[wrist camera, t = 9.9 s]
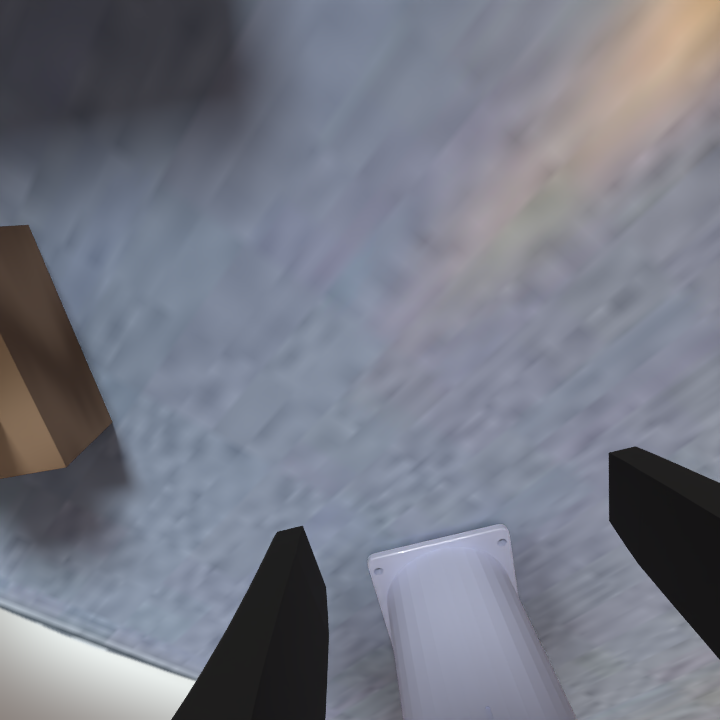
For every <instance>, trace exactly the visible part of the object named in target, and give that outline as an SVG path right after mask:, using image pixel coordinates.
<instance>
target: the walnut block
mask: <svg viewBox="0 0 720 720" xmlns="http://www.w3.org/2000/svg"><path fill="white" fill-rule="evenodd" d="M111 423H112V420H111V418H110V415H109V413H108V411H107V408H106V406H105V404H104V401H103V399H102V396H101V394H100V392H99V389H98V387H97V385H96V382H95V380H94V378H93V375H92V373H91V371H90V368H89V366H88V364H87V361H86V359H85V357H84V354H83V352H82V350H81V347H80V345H79V343H78V340H77V338H76V336H75V333H74V331H73V329H72V326H71V324H70V321H69V319H68V317H67V314H66V312H65V310H64V307H63V305H62V303H61V300H60V298H59V296H58V293H57V291H56V289H55V286H54V284H53V282H52V279H51V277H50V275H49V272H48V270H47V268H46V265H45V263H44V261H43V258H42V256H41V253H40V251H39V249H38V246H37V244H36V242H35V239H34V237H33V235H32V232H31V230H30V228H29V225H19V226H2V227H0V479H2V478H8V477H13V476H19V475H25V474H31V473H36V472H42V471H48V470H53V469H59V468H65V467H67V466H68V465H69V464H70V463H71V462H72V461H73V460H74V459H75V458H76V457H77V456H78V455H79V454H80V453H81V452H83V451H84V450H85V449H86V448H87V447H88V446H89V445H90V444H91V443H92V442H93V441H94V440H95V439H96V438H97V437H98V436H99V435H100V434H101V433H102V432H103V431H104V430H105V429H106V428H107V427H108V426H109V425H110V424H111Z"/></svg>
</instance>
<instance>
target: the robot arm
mask: <svg viewBox="0 0 720 720" xmlns="http://www.w3.org/2000/svg"><path fill="white" fill-rule="evenodd" d="M609 521H610V523H611V524H612V526H613V527H614V529H615V530H616V532H617V533H618V535H619V536H620V538H621V539H622V541H623V542H624V544H625V545H626V547H627V548H628V550H629V551H630V553H631V554H632V555H633V557H634V558H635V560H636V561H637V563H638V564H639V565H640V566H641V568H642V569H643V570H644V571H645V572H646V574H647V575H648V576H649V577H650V578H651V580H652V581H653V582H654V583H655V584H656V586H657V587H658V588H659V589H660V590H661V591H662V593H663V594H664V595H665V596H666V597H667V599H668V600H669V601H670V602H671V603H672V604H673V606H674V607H675V608H676V609H677V610H678V611H679V613H680V614H681V615H682V616H683V617H684V618H685V620H686V621H687V622H688V623H689V624H690V625H691V627H692V628H693V629H694V630H695V631H696V632H697V634H698V635H699V636H700V637H701V638H702V639H703V641H704V642H705V643H706V644H707V645H708V646H709V648H710V649H711V650H712V651H713V652H714V653H715V655H716V656H717V657H718V658H719V659H720V483H719V482H716V481H714V480H712V479H710V478H707V477H705V476H703V475H700V474H698V473H696V472H694V471H691V470H689V469H687V468H685V467H682V466H680V465H678V464H676V463H673V462H671V461H669V460H667V459H664V458H662V457H660V456H657V455H655V454H653V453H650V452H648V451H645V450H643V449H640V448H638V447H631V448H627V449H623V450H618V451H614V452H610V453H609ZM500 539H502V540H501V541H499V540H500ZM367 563H368V569H369V572H370V575H371V578H372V582H373V585H374V588H375V591H376V595H377V598H378V601H379V604H380V607H381V611H382V614H383V617H384V620H385V624H386V627H387V630H388V633H389V637H390V640H391V643H392V646H393V649H394V656H395V663H396V671H397V678H398V685H399V692H400V700H401V707H402V714H403V720H577V718H576V716H575V714H574V712H573V710H572V708H571V706H570V703H569V701H568V699H567V697H566V695H565V693H564V691H563V689H562V687H561V685H560V683H559V680H558V678H557V676H556V674H555V672H554V670H553V668H552V666H551V664H550V662H549V660H548V657H547V655H546V653H545V651H544V649H543V647H542V645H541V643H540V641H539V639H538V637H537V634H536V632H535V630H534V628H533V626H532V624H531V622H530V620H529V618H528V616H527V614H526V611H525V609H524V607H523V605H522V603H521V601H520V599H519V597H518V590H517V583H516V576H515V569H514V562H513V554H512V547H511V540H510V533H509V531H508V529H507V527H506V526H505V525H503V524H497V525H492V526H488V527H484V528H480V529H475V530H471V531H467V532H463V533H458V534H454V535H450V536H446V537H441V538H437V539H433V540H429V541H424V542H420V543H416V544H412V545H408V546H403V547H399V548H395V549H391V550H386V551H382V552H378V553H374V554H371V555H370V556H369V557H368V559H367ZM377 568H381V569H377ZM328 645H329V628H328V610H327V595H326V586H325V583H324V581H323V578H322V575H321V573H320V570H319V567H318V565H317V562H316V560H315V557H314V554H313V552H312V549H311V546H310V544H309V541H308V538H307V536H306V533H305V530H304V528H303V526H300V527H295V528H291V529H287V530H283V531H279V532H277V533H276V535H275V536H274V538H273V540H272V542H271V544H270V546H269V548H268V550H267V553H266V555H265V557H264V559H263V561H262V563H261V565H260V567H259V569H258V571H257V573H256V575H255V577H254V579H253V581H252V583H251V585H250V587H249V589H248V591H247V593H246V594H245V596H244V598H243V600H242V602H241V604H240V606H239V607H238V609H237V611H236V613H235V615H234V617H233V619H232V621H231V622H230V624H229V626H228V628H227V630H226V631H225V633H224V635H223V637H222V638H221V640H220V642H219V644H218V645H217V647H216V649H215V650H214V652H213V654H212V655H211V657H210V659H209V661H208V662H207V664H206V666H205V667H204V669H203V671H202V672H201V674H200V676H199V677H198V679H197V681H196V682H195V684H194V685H193V687H192V689H191V690H190V692H189V693H188V695H187V697H186V698H185V700H184V701H183V703H182V704H181V706H180V707H179V709H178V710H177V712H176V713H175V715H174V716H173V718H172V719H171V720H325V714H326V693H327V670H328Z"/></svg>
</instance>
